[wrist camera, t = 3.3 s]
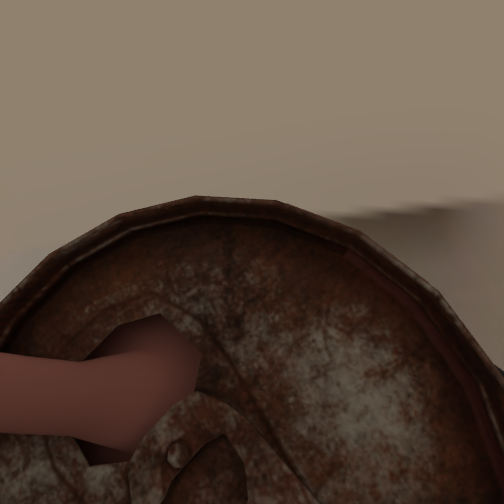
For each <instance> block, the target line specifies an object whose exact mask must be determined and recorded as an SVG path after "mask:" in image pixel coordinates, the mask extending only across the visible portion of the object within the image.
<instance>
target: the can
mask: <svg viewBox="0 0 504 504" xmlns="http://www.w3.org/2000/svg"><path fill="white" fill-rule="evenodd" d="M0 504H504V377H503V376H502V375H501V373H500V372H499V371H498V369H497V368H496V367H495V365H494V364H493V363H492V361H491V360H490V359H489V357H488V356H487V355H486V353H485V352H484V351H483V349H482V348H481V347H480V345H479V344H478V343H477V341H476V340H475V339H474V337H473V336H472V335H471V333H470V332H469V331H468V329H467V328H466V327H465V325H464V324H463V323H462V321H461V320H460V319H459V317H458V316H457V315H456V313H455V312H454V311H453V309H452V308H451V307H450V305H449V304H448V303H447V301H446V300H445V299H444V297H443V296H442V295H441V293H440V292H439V291H438V290H437V289H435V288H434V287H433V286H431V285H430V284H429V283H428V282H427V281H426V280H425V279H423V278H422V277H421V276H419V275H418V274H417V273H415V272H414V271H413V270H411V269H410V268H409V267H407V266H406V265H405V264H403V263H402V262H401V261H399V260H398V259H397V258H395V257H394V256H393V255H392V254H390V253H389V252H388V251H386V250H385V249H384V248H382V247H381V246H380V245H378V244H377V243H376V242H374V241H373V240H372V239H370V238H369V237H368V236H366V235H365V234H364V233H362V232H361V231H360V230H357V229H354V228H352V227H349V226H346V225H343V224H341V223H338V222H335V221H333V220H330V219H327V218H325V217H322V216H319V215H317V214H314V213H311V212H308V211H306V210H303V209H300V208H298V207H295V206H292V205H289V204H285V203H283V202H280V201H277V200H263V199H245V198H228V197H210V196H192V197H188V198H184V199H179V200H175V201H171V202H167V203H163V204H159V205H155V206H150V207H147V208H143V209H138V210H134V211H130V212H126V213H122V214H118V215H116V216H115V217H113V218H111V219H109V220H108V221H106V222H104V223H102V224H101V225H99V226H97V227H95V228H94V229H92V230H90V231H89V232H87V233H85V234H83V235H81V236H80V237H78V238H76V239H74V240H73V241H71V242H69V243H67V244H66V245H64V246H62V247H60V248H59V249H57V250H55V251H53V252H52V253H50V254H49V255H48V256H47V257H46V258H45V259H44V260H42V261H41V262H40V263H39V264H38V265H37V266H36V267H35V268H34V269H33V270H32V271H31V272H30V273H29V274H28V275H27V276H26V277H25V278H24V279H23V280H22V281H21V282H20V283H19V284H18V285H17V286H16V287H15V288H14V289H13V290H12V291H11V292H10V293H9V294H8V295H7V296H6V297H5V298H4V299H3V300H2V301H1V302H0Z"/></svg>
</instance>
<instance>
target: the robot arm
mask: <svg viewBox="0 0 504 504" xmlns="http://www.w3.org/2000/svg"><path fill="white" fill-rule="evenodd" d="M495 367H496V368H497V369H498V371H499V372H500V373H501V375H502V376H503V377H504V371H503V370H501V369H500V368H498V367H497V366H496V365H495Z"/></svg>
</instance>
